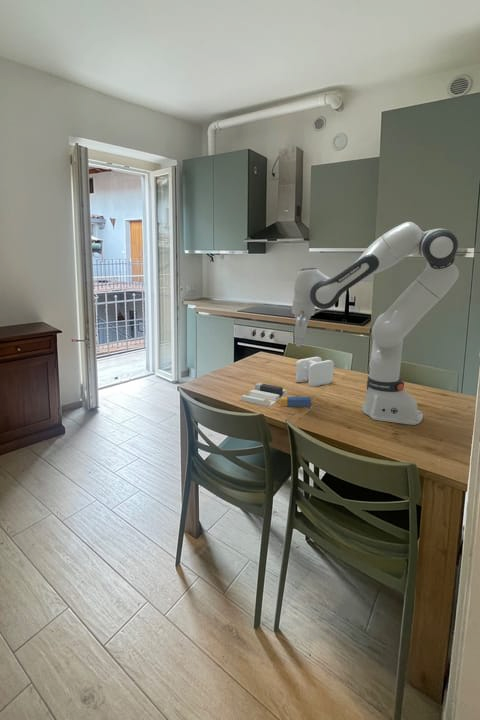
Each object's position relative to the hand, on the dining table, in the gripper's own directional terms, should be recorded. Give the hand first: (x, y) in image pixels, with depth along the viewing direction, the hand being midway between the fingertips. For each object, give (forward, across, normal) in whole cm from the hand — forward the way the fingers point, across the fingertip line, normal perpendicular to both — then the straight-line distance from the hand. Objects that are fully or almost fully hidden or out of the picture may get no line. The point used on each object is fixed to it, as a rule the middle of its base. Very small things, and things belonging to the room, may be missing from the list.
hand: (299, 343), depth 163 cm
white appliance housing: (+27, 0, +12) cm, 29 cm away
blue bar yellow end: (+26, -6, -2) cm, 26 cm away
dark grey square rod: (+26, +4, +11) cm, 28 cm away
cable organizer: (+26, +27, -8) cm, 38 cm away
